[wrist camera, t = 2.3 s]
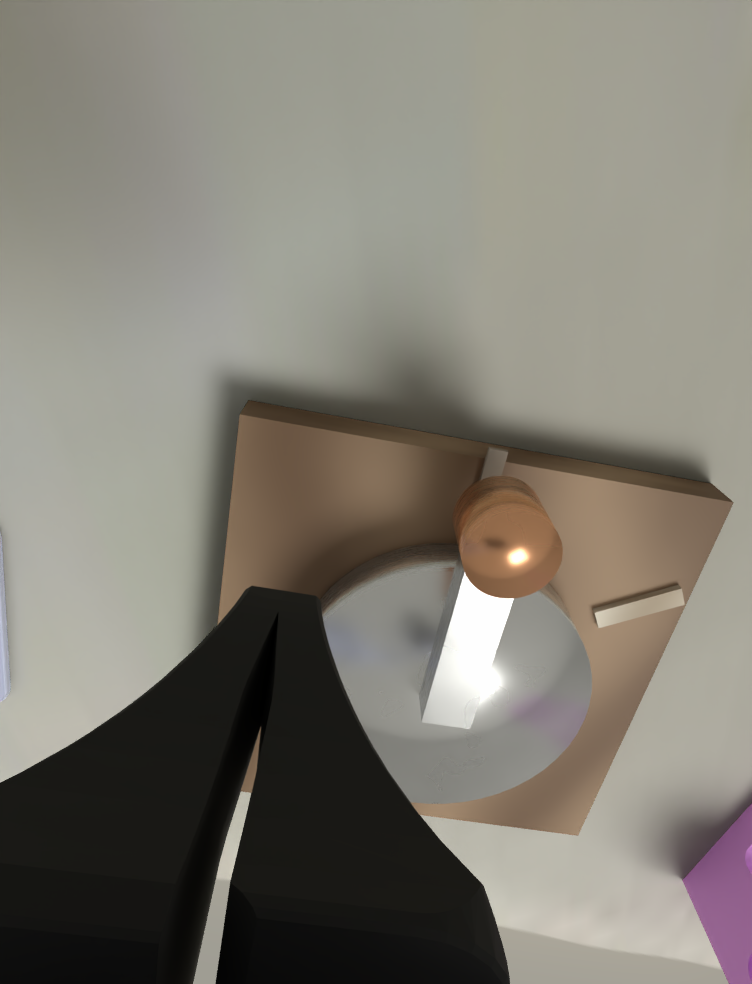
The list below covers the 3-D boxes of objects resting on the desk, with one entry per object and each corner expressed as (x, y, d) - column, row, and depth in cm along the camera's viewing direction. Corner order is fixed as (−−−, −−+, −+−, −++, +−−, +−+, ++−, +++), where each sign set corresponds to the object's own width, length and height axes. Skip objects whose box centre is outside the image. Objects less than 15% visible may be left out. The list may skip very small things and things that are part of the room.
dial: (530, 779, 26) (557, 878, 22) (282, 745, 25) (266, 842, 21) (651, 480, 20) (713, 544, 17) (338, 424, 20) (329, 478, 16)
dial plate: (209, 756, 28) (199, 790, 26) (249, 388, 21) (239, 404, 19) (568, 805, 29) (579, 840, 27) (716, 473, 22) (742, 494, 20)
